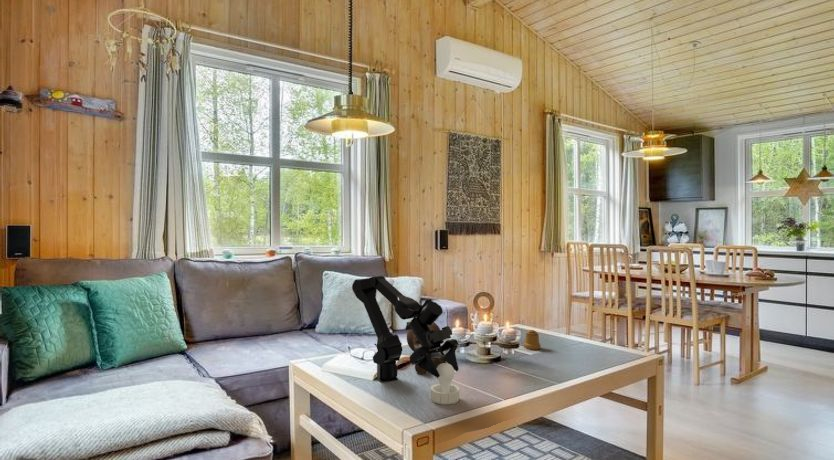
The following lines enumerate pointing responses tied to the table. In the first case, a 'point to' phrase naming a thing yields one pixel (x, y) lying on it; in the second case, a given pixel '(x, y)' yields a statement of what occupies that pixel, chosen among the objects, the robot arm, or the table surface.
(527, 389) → the table surface
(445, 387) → the lightbulb
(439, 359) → the bolt
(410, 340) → the wooden sphere
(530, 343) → the brass bell
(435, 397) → the ring
